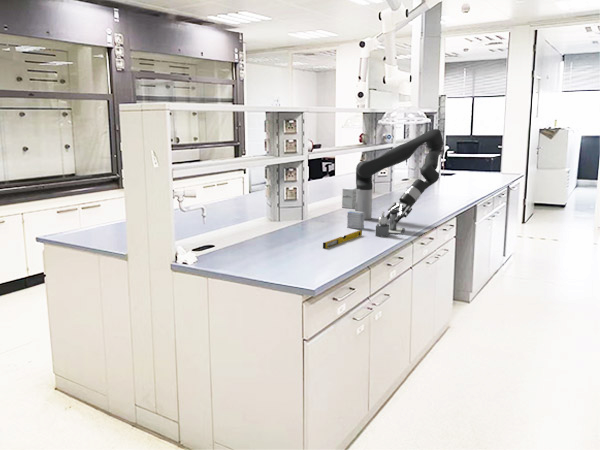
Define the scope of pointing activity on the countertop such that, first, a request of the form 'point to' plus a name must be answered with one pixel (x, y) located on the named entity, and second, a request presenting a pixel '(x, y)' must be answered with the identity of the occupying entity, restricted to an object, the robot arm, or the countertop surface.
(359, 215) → the medicine box
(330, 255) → the countertop surface
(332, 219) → the countertop surface
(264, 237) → the countertop surface
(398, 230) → the mat
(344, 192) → the supplement box
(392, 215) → the salt shaker
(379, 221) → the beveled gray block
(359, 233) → the spirit level
